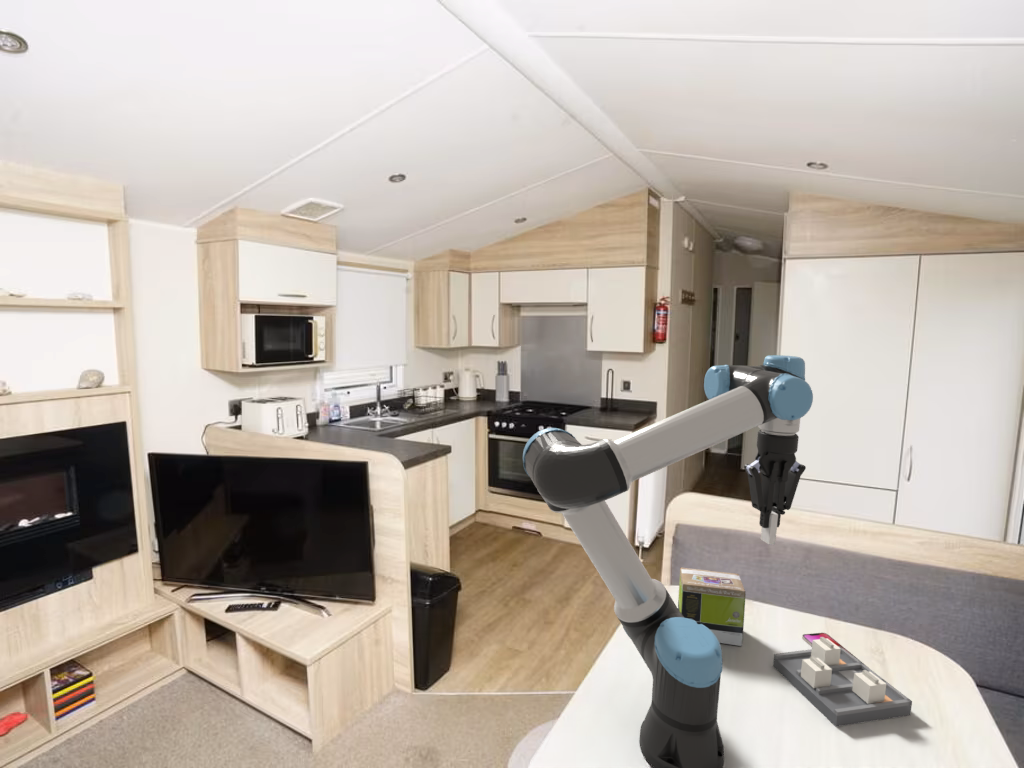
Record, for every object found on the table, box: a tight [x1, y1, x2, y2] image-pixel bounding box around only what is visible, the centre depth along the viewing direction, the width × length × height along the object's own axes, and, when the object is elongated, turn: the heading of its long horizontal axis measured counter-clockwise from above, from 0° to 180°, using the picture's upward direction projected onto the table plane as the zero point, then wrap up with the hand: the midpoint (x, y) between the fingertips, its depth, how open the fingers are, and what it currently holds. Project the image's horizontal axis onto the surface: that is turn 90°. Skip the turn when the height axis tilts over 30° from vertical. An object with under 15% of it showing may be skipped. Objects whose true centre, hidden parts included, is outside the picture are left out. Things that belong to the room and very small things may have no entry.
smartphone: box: [801, 632, 871, 669], centre depth 134 cm, size 7×1×15 cm
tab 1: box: [811, 637, 841, 666], centre depth 127 cm, size 4×4×5 cm
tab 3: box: [852, 670, 886, 704], centre depth 115 cm, size 4×4×5 cm
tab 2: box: [801, 656, 832, 688], centre depth 119 cm, size 4×4×5 cm
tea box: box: [677, 567, 747, 647], centre depth 141 cm, size 15×10×15 cm, turn 77°
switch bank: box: [772, 646, 913, 728], centre depth 121 cm, size 18×19×3 cm
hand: (767, 541), depth 115 cm, fingers closed
